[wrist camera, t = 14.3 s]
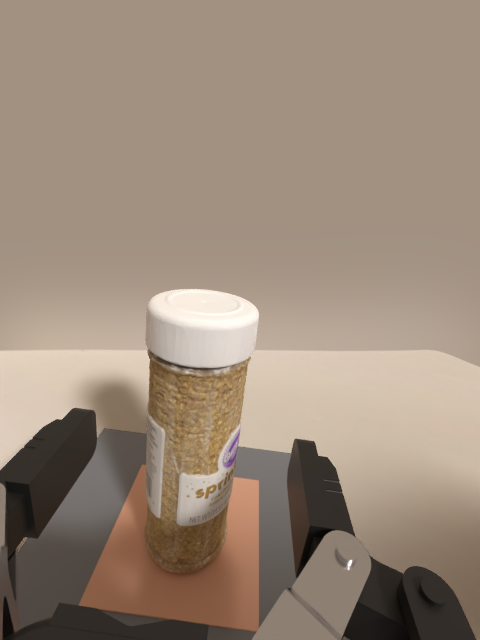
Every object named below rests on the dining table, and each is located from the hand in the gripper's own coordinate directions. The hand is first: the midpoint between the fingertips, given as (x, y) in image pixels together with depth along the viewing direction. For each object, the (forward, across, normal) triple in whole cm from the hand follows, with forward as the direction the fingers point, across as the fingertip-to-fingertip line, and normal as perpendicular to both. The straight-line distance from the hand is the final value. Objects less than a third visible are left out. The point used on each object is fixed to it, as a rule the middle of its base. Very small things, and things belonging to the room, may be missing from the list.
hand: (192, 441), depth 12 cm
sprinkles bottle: (+2, 0, +8) cm, 9 cm away
